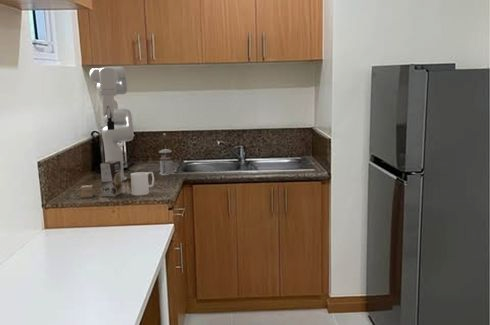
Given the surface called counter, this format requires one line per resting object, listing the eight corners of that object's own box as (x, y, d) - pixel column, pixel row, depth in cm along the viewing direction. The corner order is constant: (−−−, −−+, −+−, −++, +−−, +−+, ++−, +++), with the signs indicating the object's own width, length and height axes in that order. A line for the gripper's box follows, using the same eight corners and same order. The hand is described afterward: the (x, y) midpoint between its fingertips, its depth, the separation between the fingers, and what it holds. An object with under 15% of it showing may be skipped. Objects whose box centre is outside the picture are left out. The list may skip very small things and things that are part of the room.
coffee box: (114, 196, 225) (112, 163, 223) (102, 196, 227) (99, 163, 224) (123, 192, 234) (120, 160, 232) (111, 192, 236) (108, 160, 233)
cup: (158, 192, 233) (157, 172, 231) (136, 196, 225) (135, 175, 224) (151, 190, 239) (149, 170, 237) (129, 193, 231) (127, 173, 230)
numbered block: (83, 195, 231) (82, 185, 230) (93, 195, 232) (92, 184, 231) (81, 197, 226) (80, 187, 225) (92, 197, 227) (91, 186, 226)
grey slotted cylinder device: (177, 172, 292) (174, 132, 289) (170, 175, 281) (168, 133, 277) (161, 172, 294) (159, 132, 290) (155, 175, 283) (152, 134, 279)
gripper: (102, 93, 242) (105, 129, 245) (98, 93, 227) (101, 131, 230) (117, 92, 243) (120, 128, 246) (114, 92, 229) (117, 130, 231)
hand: (111, 129), depth 238 cm, fingers closed
